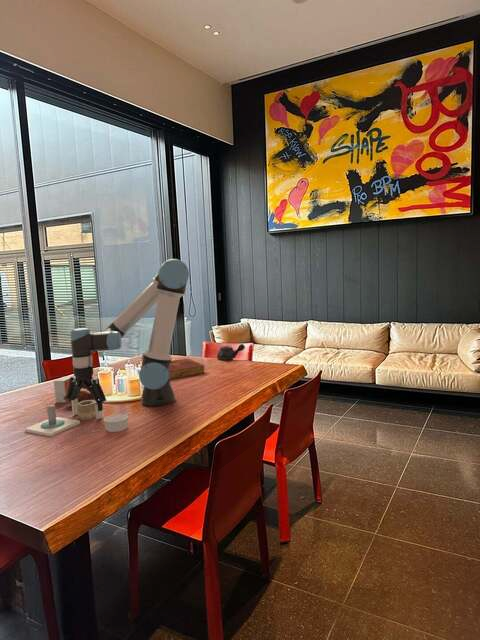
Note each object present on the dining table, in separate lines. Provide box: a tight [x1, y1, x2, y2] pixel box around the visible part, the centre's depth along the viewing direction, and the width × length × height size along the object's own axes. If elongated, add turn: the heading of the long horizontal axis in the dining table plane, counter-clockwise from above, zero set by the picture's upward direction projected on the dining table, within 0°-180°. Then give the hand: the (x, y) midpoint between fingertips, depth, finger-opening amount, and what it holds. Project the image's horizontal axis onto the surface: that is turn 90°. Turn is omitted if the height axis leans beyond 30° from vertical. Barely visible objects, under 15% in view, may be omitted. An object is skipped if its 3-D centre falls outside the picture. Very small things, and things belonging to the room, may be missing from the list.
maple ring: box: [77, 400, 96, 421], centre depth 178 cm, size 7×7×6 cm
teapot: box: [216, 343, 246, 361], centre depth 277 cm, size 19×15×10 cm
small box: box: [53, 376, 71, 404], centre depth 202 cm, size 8×6×10 cm
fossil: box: [63, 389, 95, 406], centre depth 192 cm, size 13×8×10 cm
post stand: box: [24, 404, 81, 438], centre depth 167 cm, size 14×14×9 cm
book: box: [169, 358, 205, 380], centre depth 246 cm, size 30×24×5 cm
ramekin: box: [103, 413, 129, 433], centre depth 163 cm, size 9×9×4 cm
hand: (87, 416), depth 178 cm, fingers open, 12 cm apart
